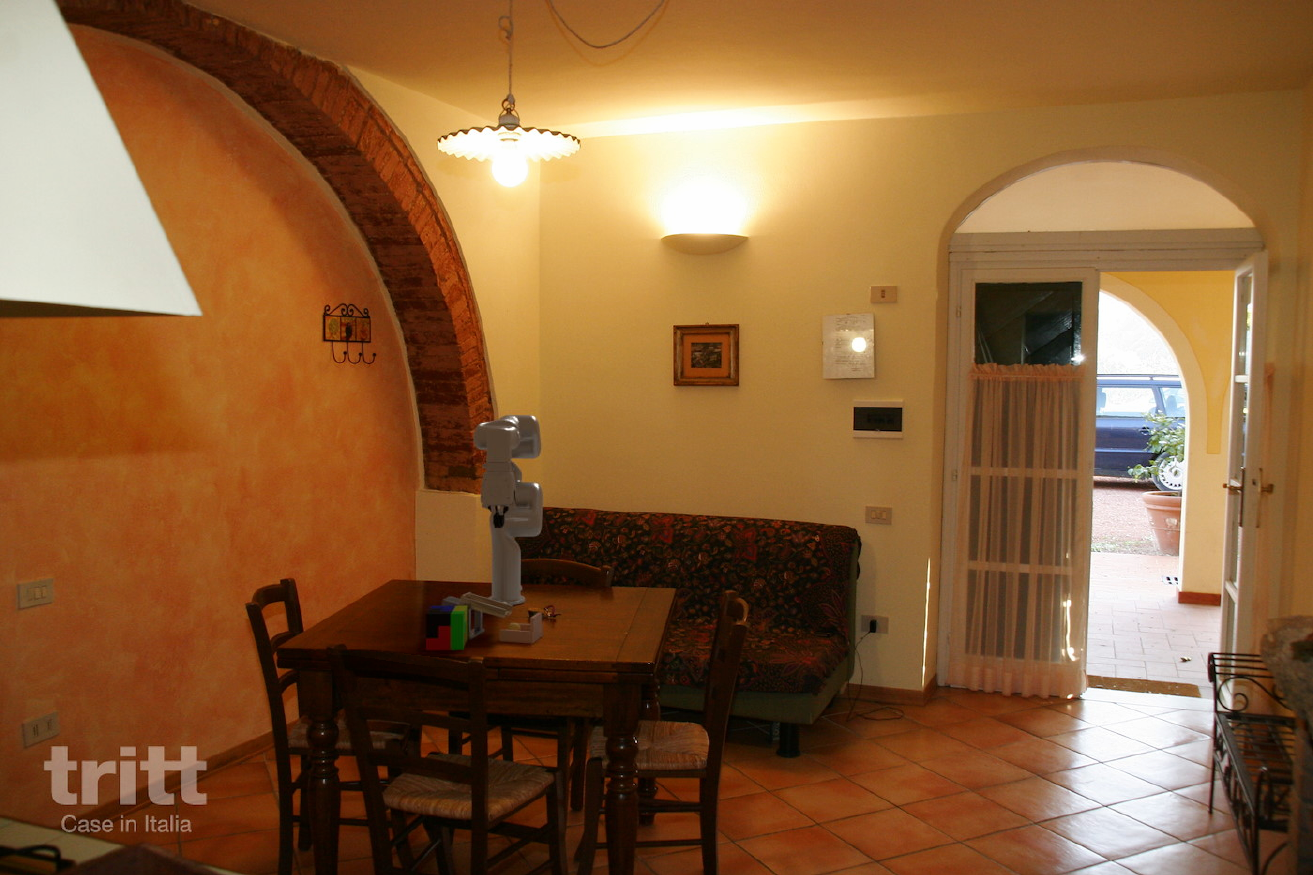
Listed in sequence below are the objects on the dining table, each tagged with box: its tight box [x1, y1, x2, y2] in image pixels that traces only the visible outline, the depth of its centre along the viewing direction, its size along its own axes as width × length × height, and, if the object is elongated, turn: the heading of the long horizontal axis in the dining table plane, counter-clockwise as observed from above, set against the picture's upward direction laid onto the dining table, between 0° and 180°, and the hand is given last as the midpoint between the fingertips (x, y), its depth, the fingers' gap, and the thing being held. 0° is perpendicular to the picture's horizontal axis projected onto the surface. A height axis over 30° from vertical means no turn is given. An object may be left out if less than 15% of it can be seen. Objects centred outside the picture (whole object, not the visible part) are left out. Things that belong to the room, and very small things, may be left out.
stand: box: [463, 603, 486, 640], centre depth 273 cm, size 10×3×10 cm, turn 167°
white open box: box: [499, 612, 544, 645], centre depth 269 cm, size 9×10×7 cm
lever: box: [441, 591, 514, 619], centre depth 275 cm, size 12×20×7 cm, turn 77°
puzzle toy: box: [425, 605, 468, 651], centre depth 262 cm, size 10×10×10 cm
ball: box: [507, 622, 521, 631], centre depth 270 cm, size 4×4×4 cm
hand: (498, 527), depth 288 cm, fingers closed
